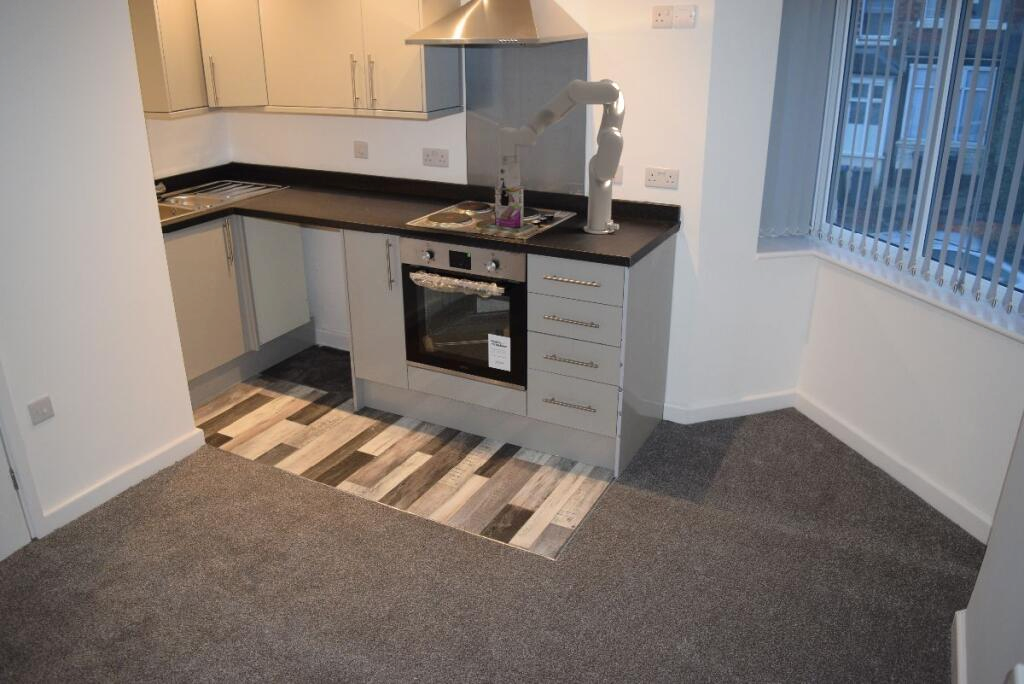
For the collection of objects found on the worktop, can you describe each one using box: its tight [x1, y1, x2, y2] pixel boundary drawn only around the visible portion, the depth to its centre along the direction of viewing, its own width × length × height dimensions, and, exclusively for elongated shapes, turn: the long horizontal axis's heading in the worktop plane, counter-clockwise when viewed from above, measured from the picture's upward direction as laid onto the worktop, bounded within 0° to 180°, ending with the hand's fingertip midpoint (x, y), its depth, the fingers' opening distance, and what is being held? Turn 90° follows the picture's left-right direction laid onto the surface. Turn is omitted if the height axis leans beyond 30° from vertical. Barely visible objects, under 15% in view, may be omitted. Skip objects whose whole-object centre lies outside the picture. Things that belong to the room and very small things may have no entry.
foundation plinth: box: [479, 220, 539, 240], centre depth 338 cm, size 18×17×3 cm
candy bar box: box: [494, 185, 525, 228], centre depth 335 cm, size 11×5×16 cm, turn 74°
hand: (509, 203), depth 334 cm, fingers closed on candy bar box, 5 cm apart
